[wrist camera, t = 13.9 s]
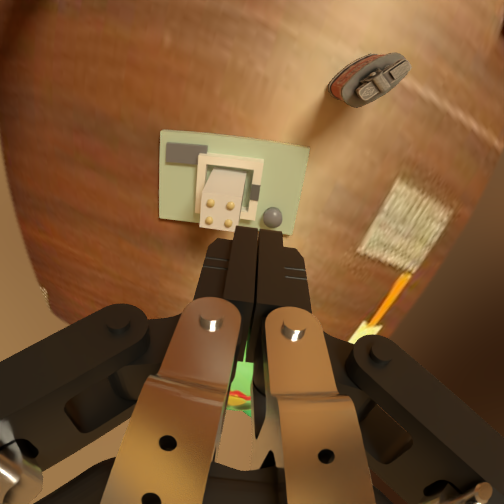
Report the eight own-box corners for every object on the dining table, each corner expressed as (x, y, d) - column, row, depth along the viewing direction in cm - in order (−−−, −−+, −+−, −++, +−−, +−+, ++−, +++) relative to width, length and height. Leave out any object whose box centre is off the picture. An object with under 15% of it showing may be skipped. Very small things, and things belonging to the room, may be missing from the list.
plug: (211, 196, 40) (199, 228, 33) (214, 166, 38) (201, 193, 31) (242, 200, 40) (237, 233, 33) (247, 171, 38) (242, 198, 31)
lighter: (339, 105, 34) (362, 119, 25) (321, 83, 32) (340, 89, 24) (389, 70, 30) (426, 75, 22) (372, 47, 29) (406, 44, 21)
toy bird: (303, 319, 52) (310, 393, 40) (268, 373, 62) (267, 437, 49) (198, 292, 50) (179, 366, 38) (181, 352, 59) (166, 417, 47)
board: (161, 214, 43) (155, 223, 40) (162, 129, 36) (156, 134, 34) (291, 231, 43) (292, 241, 41) (309, 146, 37) (311, 152, 34)
